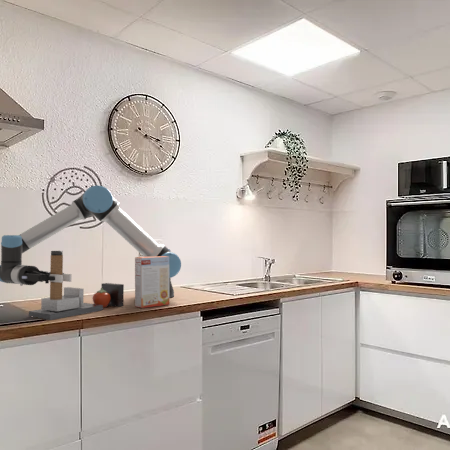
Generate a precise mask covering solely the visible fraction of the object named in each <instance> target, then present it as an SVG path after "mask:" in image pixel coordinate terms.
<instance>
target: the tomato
mask: <svg viewBox="0 0 450 450" xmlns="http://www.w3.org/2000/svg"><path fill="white" fill-rule="evenodd" d="M91 298H92V302H93V303H92V304H98V305H103V309H105V308H107V307H108V306H109V305H108V304H109V303H110V300H111V296H110V294H109V293H107V292H106V291H105V290H103V288H100V289H99V290H98V291H96V292H95V293H94V294H93V295H92V297H91Z"/></svg>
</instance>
